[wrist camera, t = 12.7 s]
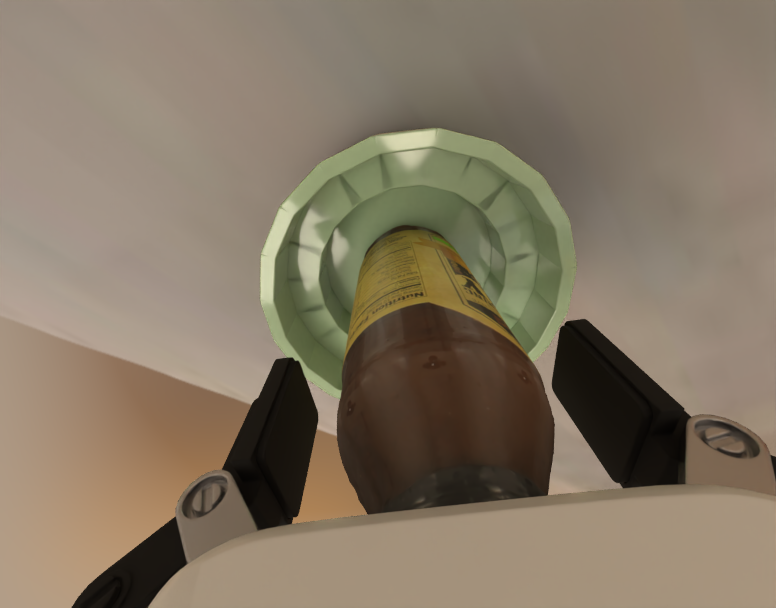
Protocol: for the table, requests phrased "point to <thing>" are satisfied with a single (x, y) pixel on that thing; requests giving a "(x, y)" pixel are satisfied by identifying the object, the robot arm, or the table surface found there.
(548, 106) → the table surface
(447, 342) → the sauce bottle
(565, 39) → the table surface
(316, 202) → the bowl
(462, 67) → the table surface
